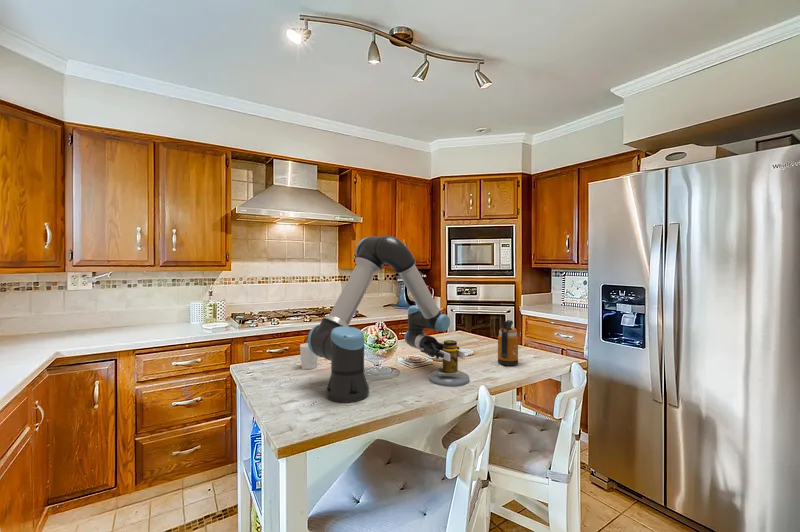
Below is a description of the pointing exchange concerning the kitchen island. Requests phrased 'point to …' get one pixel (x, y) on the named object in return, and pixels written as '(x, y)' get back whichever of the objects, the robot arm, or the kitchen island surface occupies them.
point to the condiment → (451, 365)
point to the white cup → (307, 357)
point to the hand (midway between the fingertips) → (456, 356)
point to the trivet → (449, 379)
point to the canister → (508, 344)
